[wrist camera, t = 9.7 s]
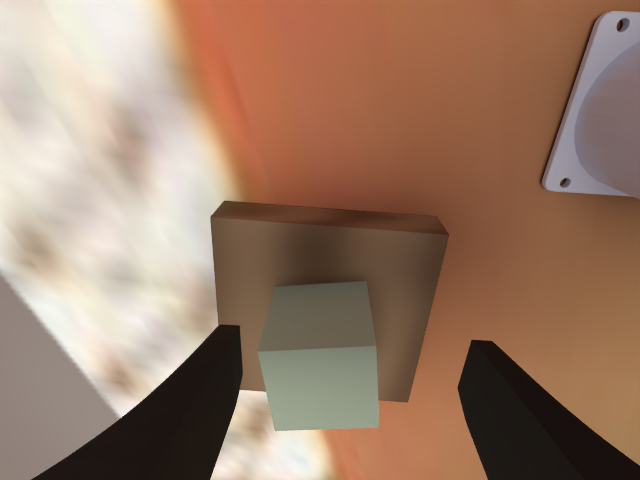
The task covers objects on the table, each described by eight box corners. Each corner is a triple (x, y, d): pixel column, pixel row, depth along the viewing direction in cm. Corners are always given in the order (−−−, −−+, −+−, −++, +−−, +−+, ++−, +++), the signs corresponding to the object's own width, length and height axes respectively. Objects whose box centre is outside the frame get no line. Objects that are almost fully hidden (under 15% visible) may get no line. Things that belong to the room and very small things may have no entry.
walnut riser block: (433, 212, 21) (448, 235, 18) (400, 367, 26) (408, 402, 23) (226, 197, 21) (210, 217, 18) (235, 354, 26) (223, 388, 23)
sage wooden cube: (366, 281, 19) (376, 345, 15) (369, 351, 21) (379, 427, 17) (275, 286, 20) (257, 351, 15) (287, 355, 22) (275, 430, 17)
